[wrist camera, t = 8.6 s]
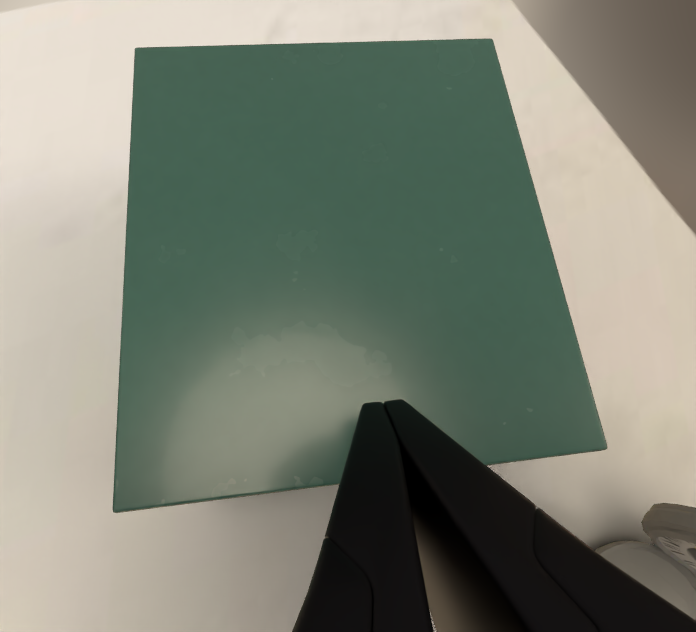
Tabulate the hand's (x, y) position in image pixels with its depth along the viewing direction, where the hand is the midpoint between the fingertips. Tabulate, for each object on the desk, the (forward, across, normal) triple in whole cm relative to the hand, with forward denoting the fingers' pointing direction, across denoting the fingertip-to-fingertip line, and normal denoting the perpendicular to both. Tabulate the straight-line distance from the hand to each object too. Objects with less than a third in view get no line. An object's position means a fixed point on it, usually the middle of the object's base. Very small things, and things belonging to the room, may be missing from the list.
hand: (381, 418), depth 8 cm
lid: (+6, 0, -2) cm, 7 cm away
